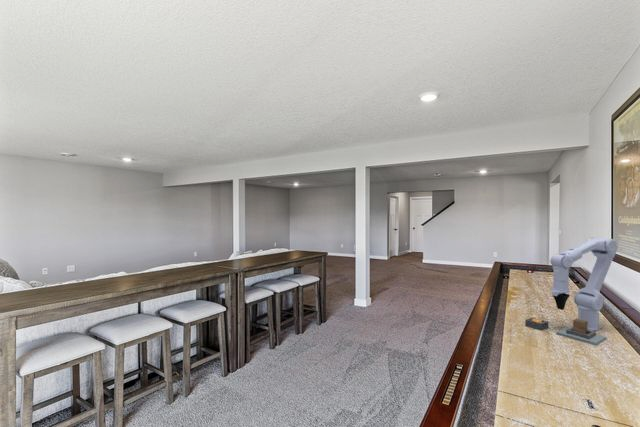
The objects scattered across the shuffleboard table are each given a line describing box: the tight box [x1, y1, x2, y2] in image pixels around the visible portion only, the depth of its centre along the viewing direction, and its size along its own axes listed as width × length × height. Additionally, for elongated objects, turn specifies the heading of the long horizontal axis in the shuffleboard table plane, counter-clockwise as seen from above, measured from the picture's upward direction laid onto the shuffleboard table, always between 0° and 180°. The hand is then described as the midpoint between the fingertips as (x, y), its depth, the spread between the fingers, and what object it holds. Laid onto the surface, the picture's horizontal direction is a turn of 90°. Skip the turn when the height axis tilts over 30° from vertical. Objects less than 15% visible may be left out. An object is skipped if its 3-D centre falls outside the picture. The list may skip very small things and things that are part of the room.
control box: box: [524, 317, 549, 331], centre depth 152 cm, size 7×7×3 cm
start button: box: [532, 318, 543, 323], centre depth 152 cm, size 4×4×2 cm
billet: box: [572, 318, 589, 334], centre depth 141 cm, size 4×4×6 cm
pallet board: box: [555, 326, 607, 346], centre depth 140 cm, size 13×14×2 cm
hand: (560, 309), depth 150 cm, fingers closed
